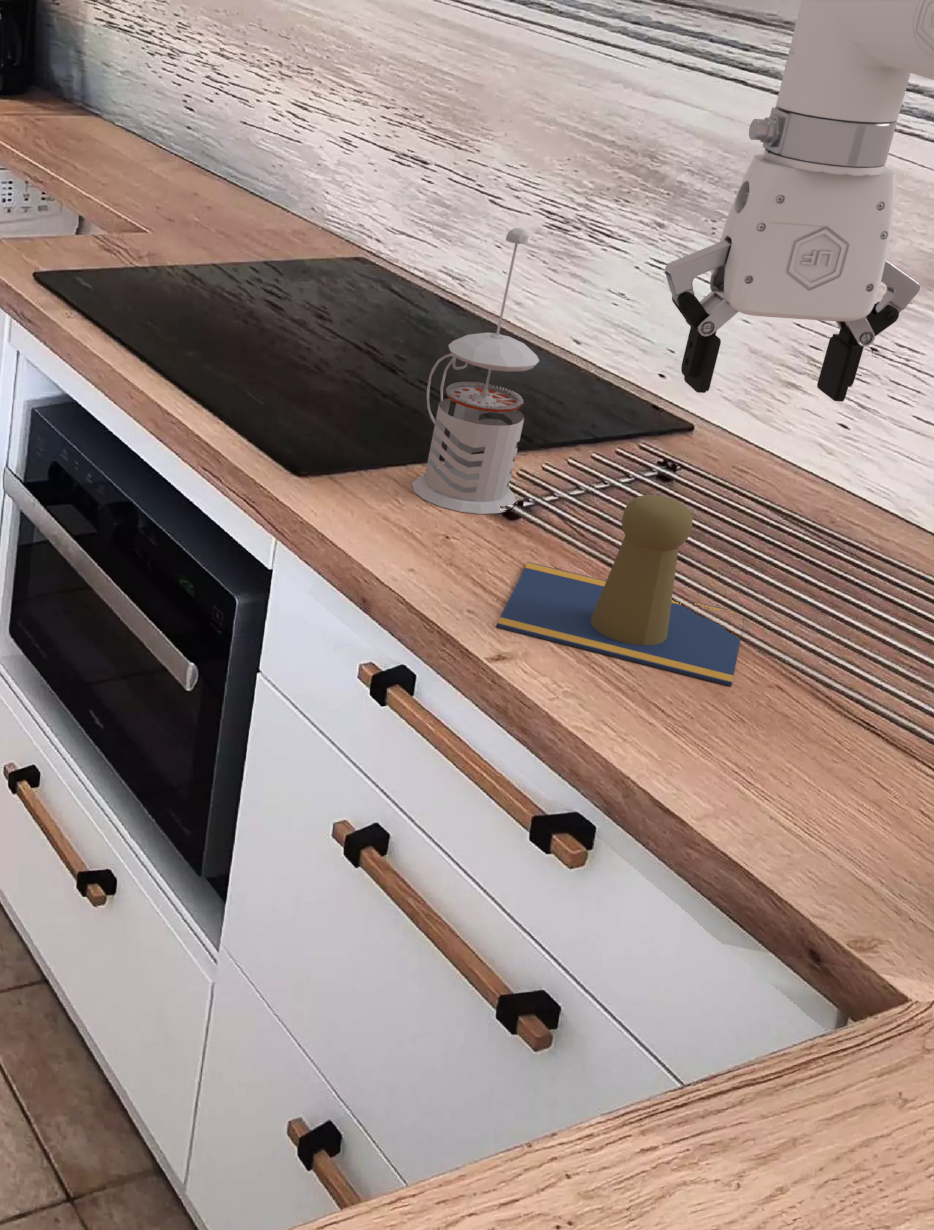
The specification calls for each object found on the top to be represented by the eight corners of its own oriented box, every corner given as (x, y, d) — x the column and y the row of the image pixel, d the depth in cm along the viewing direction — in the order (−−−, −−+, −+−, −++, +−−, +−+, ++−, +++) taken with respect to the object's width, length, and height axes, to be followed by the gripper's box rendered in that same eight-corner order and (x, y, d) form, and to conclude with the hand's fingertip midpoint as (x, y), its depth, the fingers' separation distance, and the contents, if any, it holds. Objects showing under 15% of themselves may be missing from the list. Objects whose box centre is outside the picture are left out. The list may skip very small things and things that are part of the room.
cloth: (744, 616, 142) (745, 613, 142) (731, 686, 131) (732, 682, 131) (526, 564, 148) (527, 561, 148) (495, 627, 137) (496, 623, 136)
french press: (458, 519, 156) (515, 246, 144) (378, 473, 165) (426, 211, 153) (539, 506, 160) (600, 240, 149) (457, 462, 169) (509, 207, 158)
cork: (588, 605, 141) (619, 481, 136) (663, 618, 140) (698, 493, 135) (592, 637, 136) (625, 509, 130) (671, 650, 135) (707, 521, 130)
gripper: (719, 144, 110) (659, 400, 117) (984, 162, 110) (906, 416, 118) (680, 123, 116) (625, 367, 124) (929, 140, 117) (859, 382, 125)
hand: (762, 391), depth 121 cm, fingers open, 9 cm apart
